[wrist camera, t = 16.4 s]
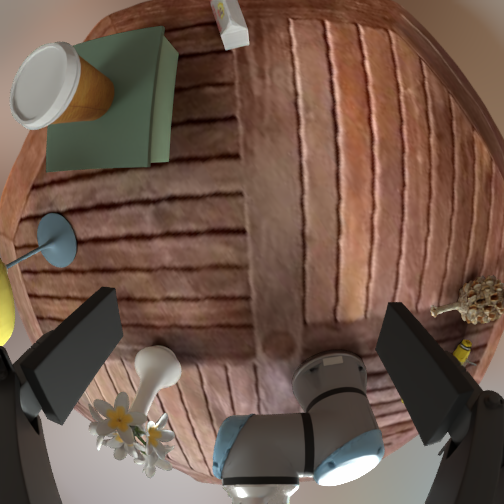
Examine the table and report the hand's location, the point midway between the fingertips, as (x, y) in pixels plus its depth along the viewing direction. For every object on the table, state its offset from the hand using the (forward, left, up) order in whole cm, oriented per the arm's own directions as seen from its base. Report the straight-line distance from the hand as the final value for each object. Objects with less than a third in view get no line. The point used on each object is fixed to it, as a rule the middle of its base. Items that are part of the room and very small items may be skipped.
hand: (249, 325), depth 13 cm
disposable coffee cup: (+16, +22, -22) cm, 34 cm away
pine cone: (-13, -42, -32) cm, 54 cm away
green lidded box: (+15, +22, -32) cm, 41 cm away
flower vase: (-31, +16, -32) cm, 47 cm away
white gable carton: (+28, +6, -32) cm, 43 cm away
